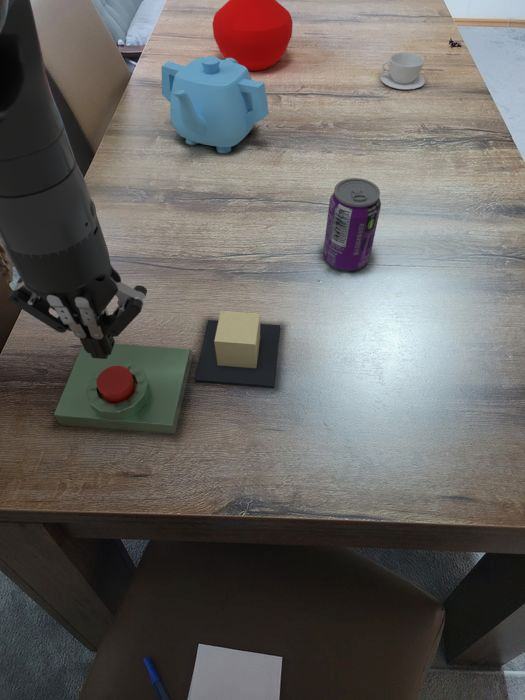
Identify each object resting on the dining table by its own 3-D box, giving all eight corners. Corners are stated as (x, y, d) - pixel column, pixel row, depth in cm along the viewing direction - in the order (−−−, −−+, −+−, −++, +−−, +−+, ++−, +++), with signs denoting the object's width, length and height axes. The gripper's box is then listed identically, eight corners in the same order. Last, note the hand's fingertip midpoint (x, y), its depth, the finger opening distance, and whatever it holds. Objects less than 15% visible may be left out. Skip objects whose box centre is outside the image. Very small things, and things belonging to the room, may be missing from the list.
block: (217, 365, 63) (214, 341, 59) (223, 335, 66) (220, 310, 62) (256, 368, 62) (255, 344, 58) (260, 338, 65) (260, 313, 62)
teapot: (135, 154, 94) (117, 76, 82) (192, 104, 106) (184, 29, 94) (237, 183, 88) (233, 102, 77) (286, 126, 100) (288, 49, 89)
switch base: (59, 424, 58) (47, 407, 55) (88, 351, 65) (79, 332, 62) (175, 434, 57) (169, 417, 54) (192, 359, 64) (188, 340, 61)
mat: (195, 382, 62) (194, 379, 61) (208, 322, 68) (208, 319, 68) (274, 388, 61) (274, 385, 61) (280, 327, 67) (280, 324, 67)
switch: (95, 401, 56) (91, 392, 55) (106, 372, 59) (102, 364, 57) (130, 404, 56) (126, 395, 54) (138, 375, 58) (135, 366, 57)
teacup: (423, 73, 114) (429, 51, 111) (424, 93, 108) (430, 70, 105) (380, 70, 115) (384, 48, 112) (379, 89, 110) (383, 67, 106)
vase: (266, 40, 126) (265, -53, 111) (306, 67, 116) (311, -31, 101) (202, 57, 120) (193, -40, 105) (238, 86, 111) (234, -15, 96)
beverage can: (374, 271, 74) (390, 204, 65) (329, 276, 73) (338, 209, 64) (361, 240, 78) (374, 173, 69) (318, 245, 78) (325, 178, 68)
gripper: (-57, 246, 37) (29, 376, 50) (116, 257, 36) (156, 386, 50) (-14, 186, 41) (54, 321, 55) (140, 195, 41) (171, 329, 54)
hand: (102, 352), depth 52 cm, fingers closed
